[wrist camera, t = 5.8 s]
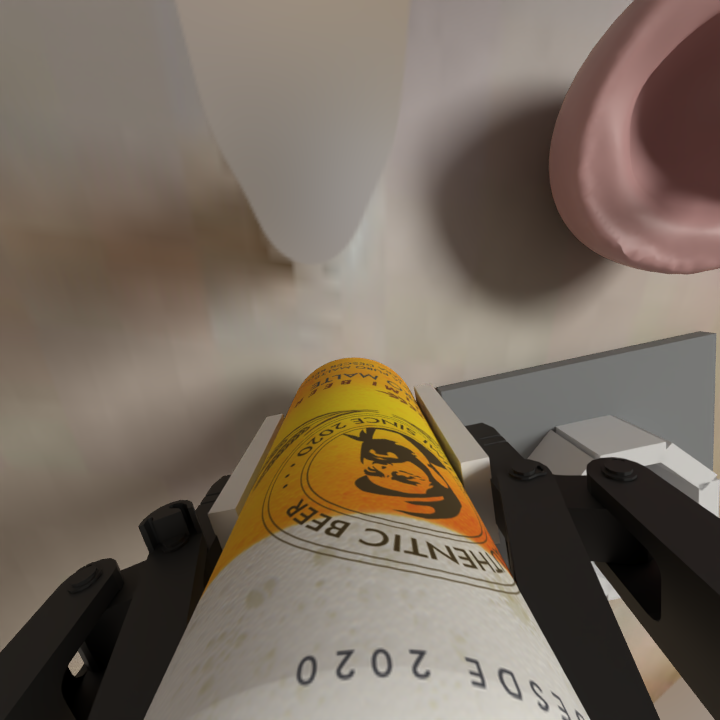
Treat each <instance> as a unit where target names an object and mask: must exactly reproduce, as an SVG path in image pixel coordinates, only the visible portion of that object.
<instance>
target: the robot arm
mask: <svg viewBox="0 0 720 720" xmlns="http://www.w3.org/2000/svg"><path fill="white" fill-rule="evenodd" d="M414 390H415V396H416V401H417V404H418V406H419V408H420V410H421V412H422V413H423V415H424V417H425V419H426V421H427V422H428V424H429V426H430V428H431V430H432V431H433V433H434V435H435V437H436V439H437V440H438V442H439V444H440V446H441V448H442V449H443V451H444V453H445V455H446V457H447V459H448V460H449V462H450V464H451V466H452V468H453V469H454V471H455V473H456V475H457V477H458V478H459V480H460V482H461V484H462V486H463V487H464V489H465V491H466V493H467V495H468V496H469V498H470V500H471V502H472V504H473V505H474V507H475V509H476V511H477V513H478V515H479V516H480V518H481V520H482V522H483V524H484V525H485V527H486V529H487V531H488V533H489V534H490V536H491V538H492V540H493V542H494V543H495V544H499V543H500V539H499V531H498V528H499V529H500V531H501V533H502V534H503V536H504V538H505V542H506V550H507V558H508V566H509V571H510V572H511V574H512V576H513V578H514V580H515V581H516V583H517V587H518V589H519V591H520V593H521V595H522V596H523V598H524V600H525V602H526V604H527V606H528V607H529V609H530V611H531V613H532V615H533V616H534V618H535V620H536V622H537V624H538V626H539V627H540V629H541V631H542V633H543V635H544V637H545V638H546V640H547V642H548V644H549V646H550V647H551V649H552V651H553V653H554V655H555V657H556V658H557V660H558V662H559V664H560V666H561V667H562V669H563V671H564V673H565V675H566V677H567V678H568V680H569V682H570V684H571V686H572V687H573V689H574V691H575V693H576V695H577V697H578V698H579V700H580V702H581V704H582V706H583V708H584V709H585V711H586V713H587V715H588V717H589V718H590V720H660V718H659V716H658V714H657V712H656V709H655V707H654V705H653V702H652V700H651V698H650V696H649V693H648V691H647V689H646V686H645V684H644V682H643V680H642V677H641V675H640V673H639V670H638V668H637V666H636V664H635V661H634V659H633V657H632V654H631V652H630V650H629V648H628V645H627V643H626V641H625V639H624V636H623V634H622V632H621V629H620V627H619V625H618V623H617V620H616V618H615V616H614V613H613V611H612V609H611V607H610V604H609V602H608V600H607V597H606V595H605V593H604V591H603V588H602V586H601V584H600V581H599V579H598V577H597V575H596V572H595V570H594V568H593V565H592V563H591V561H594V563H595V565H596V566H597V567H598V569H599V570H600V571H601V573H602V574H603V575H604V576H605V578H606V579H607V580H608V582H609V583H610V584H611V585H612V587H613V588H614V589H615V591H616V592H617V593H618V595H619V596H620V597H621V598H622V600H623V601H624V602H625V604H626V605H627V606H628V608H629V609H630V610H631V611H632V613H633V614H634V615H635V617H636V618H637V619H638V621H639V622H640V623H641V624H642V626H643V627H644V628H645V630H646V631H647V632H648V633H649V635H650V636H651V637H652V639H653V640H654V641H655V643H656V644H657V645H658V646H659V648H660V649H661V650H662V652H663V653H664V654H665V656H666V657H667V658H668V659H669V661H670V662H671V663H672V665H673V666H674V667H675V669H676V670H677V671H678V672H679V674H680V675H681V676H682V678H683V679H684V680H685V681H686V683H687V684H688V685H689V687H690V688H691V689H692V691H693V692H694V693H695V694H696V695H697V697H698V698H699V700H700V701H701V702H702V703H703V705H704V706H705V707H706V709H707V710H708V711H709V713H710V714H711V715H712V716H713V718H714V719H715V720H720V518H719V517H717V516H716V515H714V514H713V513H711V512H710V511H708V510H707V509H706V508H704V507H703V506H701V505H700V504H698V503H697V502H696V501H694V500H693V499H691V498H690V497H688V496H687V495H686V494H684V493H683V492H681V491H680V490H678V489H677V488H676V487H674V486H673V485H671V484H670V483H668V482H667V481H666V480H664V479H663V478H661V477H660V476H658V475H657V474H656V473H654V472H653V471H651V470H650V469H648V468H647V467H645V466H643V465H641V464H639V463H637V462H634V461H631V460H627V459H624V458H617V457H606V458H598V459H595V460H592V461H591V462H589V463H588V464H587V468H586V474H587V475H555V474H552V472H551V471H550V469H549V468H548V467H547V466H546V465H544V464H542V463H540V462H538V461H534V460H530V459H524V458H523V457H522V456H521V455H520V454H519V453H518V452H517V451H516V450H515V449H514V448H513V447H512V446H511V445H510V444H509V443H508V442H506V440H505V439H504V438H503V437H502V436H501V435H500V434H499V433H498V432H497V430H496V429H495V428H494V427H491V426H489V425H487V424H484V423H477V424H472V425H468V426H464V425H463V424H462V422H461V421H460V420H459V419H458V417H457V416H456V415H455V414H454V412H453V411H452V410H451V409H450V407H449V406H448V405H447V404H446V402H445V401H444V400H443V398H442V397H441V396H440V395H439V393H438V392H437V391H436V390H435V388H434V387H433V386H432V385H431V383H429V384H424V385H419V386H414ZM283 421H284V416H283V414H278V415H273V416H268V417H266V419H265V420H264V422H263V424H262V425H261V427H260V429H259V430H258V432H257V434H256V435H255V437H254V439H253V440H252V442H251V443H250V445H249V447H248V448H247V450H246V452H245V453H244V455H243V457H242V458H241V460H240V462H239V463H238V465H237V467H236V468H235V470H234V471H233V473H232V475H227V476H223V477H222V478H221V479H219V480H218V481H217V482H216V483H215V484H214V485H212V487H211V488H210V490H209V491H208V493H207V494H206V497H204V499H203V500H202V502H201V505H199V506H198V508H197V509H196V511H195V509H194V507H193V504H192V502H190V501H188V500H179V501H176V502H172V503H169V504H167V505H165V506H162V507H160V508H159V509H157V510H155V511H154V512H152V513H151V514H150V515H148V516H147V517H146V518H145V519H144V520H143V521H142V522H141V524H140V525H139V526H138V527H139V529H140V532H141V534H142V536H143V539H144V541H145V544H146V546H147V548H148V551H149V555H148V558H147V560H145V561H143V562H141V563H138V564H136V565H133V566H131V567H129V568H126V569H124V570H121V571H120V568H119V566H118V564H117V562H116V560H114V559H112V558H109V559H102V560H99V561H96V562H92V563H90V564H88V565H86V566H84V567H82V568H80V569H79V570H78V571H77V572H76V573H74V574H73V575H71V576H70V577H69V578H67V579H66V580H65V581H64V582H63V583H62V584H61V585H60V586H59V587H58V588H57V589H56V590H55V591H54V593H53V594H52V595H51V596H50V597H49V598H48V599H47V600H46V602H45V603H44V604H43V605H42V606H41V607H40V608H39V609H38V611H37V612H36V613H35V614H34V615H33V616H32V617H31V619H30V620H29V621H28V622H27V623H26V624H25V625H24V626H23V628H22V629H21V630H20V631H19V632H18V633H17V634H16V635H15V637H14V638H13V639H12V640H11V641H10V642H9V643H8V644H7V646H6V647H5V648H4V649H3V650H2V651H1V652H0V720H144V718H145V716H146V713H147V711H148V709H149V707H150V705H151V703H152V701H153V699H154V696H155V694H156V692H157V690H158V688H159V686H160V684H161V681H162V679H163V677H164V675H165V673H166V671H167V669H168V667H169V664H170V662H171V660H172V658H173V656H174V654H175V652H176V649H177V647H178V645H179V643H180V641H181V639H182V637H183V635H184V632H185V630H186V628H187V626H188V624H189V622H190V620H191V617H192V615H193V613H194V611H195V609H196V607H197V605H198V602H199V600H200V598H201V596H202V594H203V592H204V590H205V588H206V585H207V583H208V581H209V579H210V577H211V575H212V573H213V570H214V568H215V566H216V564H217V562H218V560H219V558H220V556H221V553H222V551H223V549H224V547H225V545H226V543H227V541H228V538H229V536H230V534H231V532H232V530H233V528H234V526H235V524H236V521H237V519H238V517H239V515H240V513H241V511H242V509H243V506H244V504H245V502H246V500H247V498H248V496H249V494H250V492H251V489H252V487H253V485H254V483H255V481H256V479H257V477H258V474H259V472H260V470H261V468H262V466H263V464H264V462H265V459H266V457H267V455H268V453H269V451H270V449H271V447H272V445H273V442H274V440H275V438H276V436H277V434H278V432H279V430H280V427H281V425H282V423H283ZM77 651H78V652H79V654H80V656H81V658H82V660H83V661H84V665H83V666H82V668H81V669H80V671H79V672H78V673H77V675H76V676H73V675H72V673H71V671H70V670H69V668H68V665H69V663H70V661H71V660H72V658H73V657H74V655H75V654H76V653H77Z"/></svg>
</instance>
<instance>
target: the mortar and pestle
mask: <svg viewBox="0 0 720 720" xmlns="http://www.w3.org/2000/svg"><path fill="white" fill-rule="evenodd" d="M549 178H550V186H551V191H552V195H553V199H554V202H555V204H556V207H557V210H558V212H559V214H560V216H561V217H562V219H563V221H564V223H565V224H566V225H567V227H568V228H569V230H570V231H571V232H572V233H573V234H574V235H575V236H576V237H577V238H578V239H579V240H580V241H581V242H582V243H583V244H584V245H586V246H587V247H588V248H589V249H591V250H592V251H594V252H596V253H597V254H599V255H601V256H603V257H605V258H607V259H609V260H612V261H614V262H617V263H619V264H623V265H626V266H629V267H633V268H636V269H641V270H645V271H650V272H659V273H666V274H694V273H699V272H703V271H708V270H713V269H718V268H720V0H634V1H633V2H632V3H631V4H630V5H629V6H628V7H627V8H626V9H625V11H624V12H623V13H622V14H621V15H620V16H619V17H618V18H617V19H616V20H615V21H614V22H613V24H612V25H611V26H610V27H609V29H608V30H607V31H606V33H605V34H604V35H603V36H602V38H601V39H600V40H599V41H598V43H597V44H596V45H595V47H594V48H593V49H592V51H591V52H590V54H589V55H588V57H587V59H586V60H585V62H584V63H583V65H582V66H581V68H580V69H579V71H578V73H577V74H576V76H575V78H574V80H573V82H572V84H571V86H570V88H569V90H568V92H567V94H566V96H565V98H564V101H563V104H562V106H561V109H560V112H559V114H558V117H557V120H556V123H555V127H554V131H553V135H552V140H551V146H550V155H549Z"/></svg>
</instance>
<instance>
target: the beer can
mask: <svg viewBox="0 0 720 720" xmlns="http://www.w3.org/2000/svg"><path fill="white" fill-rule="evenodd" d="M144 720H590V718H589V717H588V715H587V713H586V711H585V709H584V708H583V706H582V704H581V702H580V700H579V698H578V697H577V695H576V693H575V691H574V689H573V687H572V686H571V684H570V682H569V680H568V678H567V677H566V675H565V673H564V671H563V669H562V667H561V666H560V664H559V662H558V660H557V658H556V657H555V655H554V653H553V651H552V649H551V647H550V646H549V644H548V642H547V640H546V638H545V637H544V635H543V633H542V631H541V629H540V627H539V626H538V624H537V622H536V620H535V618H534V616H533V615H532V613H531V611H530V609H529V607H528V606H527V604H526V602H525V600H524V598H523V596H522V595H521V593H520V591H519V589H518V587H517V583H516V581H515V580H514V578H513V576H512V574H511V572H510V571H509V569H508V567H507V565H506V563H505V561H504V560H503V558H502V556H501V554H500V552H499V551H498V549H497V547H496V545H495V543H494V542H493V540H492V538H491V536H490V534H489V533H488V531H487V529H486V527H485V525H484V524H483V522H482V520H481V518H480V516H479V515H478V513H477V511H476V509H475V507H474V505H473V504H472V502H471V500H470V498H469V496H468V495H467V493H466V491H465V489H464V487H463V486H462V484H461V482H460V480H459V478H458V477H457V475H456V473H455V471H454V469H453V468H452V466H451V464H450V462H449V460H448V459H447V457H446V455H445V453H444V451H443V449H442V448H441V446H440V444H439V442H438V440H437V439H436V437H435V435H434V433H433V431H432V430H431V428H430V426H429V424H428V422H427V421H426V419H425V417H424V415H423V413H422V412H421V410H420V408H419V406H418V404H417V402H416V401H415V399H414V397H413V395H412V393H411V392H410V390H409V388H408V386H407V385H406V383H405V382H404V381H403V379H402V378H401V377H400V376H399V375H398V374H397V373H395V372H394V371H393V370H392V369H390V368H389V367H387V366H385V365H383V364H381V363H379V362H376V361H374V360H370V359H365V358H343V359H338V360H335V361H332V362H329V363H327V364H325V365H323V366H321V367H319V368H318V369H316V370H315V371H314V372H313V373H311V374H310V375H309V376H308V377H307V378H306V379H305V381H304V382H303V383H302V384H301V386H300V388H299V389H298V391H297V393H296V395H295V398H294V400H293V402H292V404H291V406H290V408H289V410H288V413H287V415H286V417H285V419H284V421H283V423H282V425H281V427H280V430H279V432H278V434H277V436H276V438H275V440H274V442H273V445H272V447H271V449H270V451H269V453H268V455H267V457H266V459H265V462H264V464H263V466H262V468H261V470H260V472H259V474H258V477H257V479H256V481H255V483H254V485H253V487H252V489H251V492H250V494H249V496H248V498H247V500H246V502H245V504H244V506H243V509H242V511H241V513H240V515H239V517H238V519H237V521H236V524H235V526H234V528H233V530H232V532H231V534H230V536H229V538H228V541H227V543H226V545H225V547H224V549H223V551H222V553H221V556H220V558H219V560H218V562H217V564H216V566H215V568H214V570H213V573H212V575H211V577H210V579H209V581H208V583H207V585H206V588H205V590H204V592H203V594H202V596H201V598H200V600H199V602H198V605H197V607H196V609H195V611H194V613H193V615H192V617H191V620H190V622H189V624H188V626H187V628H186V630H185V632H184V635H183V637H182V639H181V641H180V643H179V645H178V647H177V649H176V652H175V654H174V656H173V658H172V660H171V662H170V664H169V667H168V669H167V671H166V673H165V675H164V677H163V679H162V681H161V684H160V686H159V688H158V690H157V692H156V694H155V696H154V699H153V701H152V703H151V705H150V707H149V709H148V711H147V713H146V716H145V718H144Z"/></svg>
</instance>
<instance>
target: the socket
mask: <svg viewBox="0 0 720 720" xmlns="http://www.w3.org/2000/svg"><path fill="white" fill-rule="evenodd" d="M715 363H716V333H709V332H701V331H700V332H695V333H690V334H686V335H681V336H676V337H671V338H667V339H662V340H657V341H653V342H648V343H643V344H639V345H634V346H629V347H624V348H620V349H615V350H610V351H606V352H601V353H596V354H592V355H587V356H582V357H577V358H573V359H568V360H563V361H559V362H554V363H549V364H544V365H540V366H535V367H530V368H526V369H521V370H516V371H512V372H507V373H502V374H497V375H493V376H488V377H483V378H479V379H474V380H469V381H465V382H460V383H455V384H450V385H446V386H441V387H437V391H438V393H439V395H440V396H441V397H442V398H443V400H444V401H445V402H446V404H447V405H448V406H449V407H450V409H451V410H452V411H453V412H454V414H455V415H456V416H457V417H458V419H459V420H460V421H461V422H462V424H463V425H464V426H468V425H472V424H477V423H484V424H487V425H489V426H491V427H494V428H495V429H496V430H497V432H498V433H499V434H500V435H501V436H502V437H503V438H504V439H505V440H506V442H508V443H509V444H510V445H511V446H512V447H513V448H514V449H515V450H516V451H517V452H518V453H519V454H520V455H521V456H522V457H523V458H524V459H530V460H534V461H538V462H540V463H542V464H544V465H546V466H547V467H548V468H549V469H550V471H551V472H552V474H555V475H587V474H586V468H587V464H588V463H589V462H591V461H592V460H595V459H598V458H606V457H617V458H624V459H627V460H631V461H634V462H637V463H639V464H641V465H643V466H645V467H647V468H648V469H650V470H651V471H653V472H654V473H656V474H657V475H658V476H660V477H661V478H663V479H664V480H666V481H667V482H668V483H670V484H671V485H673V486H674V487H676V488H677V489H678V490H680V491H681V492H683V493H684V494H686V495H687V496H688V497H690V498H691V499H693V500H694V501H696V502H697V503H698V504H700V505H701V506H703V507H704V508H706V509H707V510H708V511H710V512H711V513H713V514H714V515H716V516H717V517H719V486H720V480H719V479H717V478H715V477H716V476H717V474H715V473H714V472H713V444H714V404H715ZM498 531H499V539H500V543H499V544H495V545H496V547H497V549H498V551H499V552H500V554H501V556H502V558H503V560H504V561H505V563H506V565H507V567H508V569H509V566H508V558H507V550H506V542H505V538H504V536H503V534H502V533H501V531H500V529H499V528H498ZM591 563H592V565H593V568H594V570H595V572H596V575H597V577H598V579H599V581H600V584H601V586H602V588H603V591H604V593H605V595H606V597H607V600H608V601H609V600H613V599H618V598H621V597H620V596H619V595H618V593H617V592H616V591H615V589H614V588H613V587H612V585H611V584H610V583H609V582H608V580H607V579H606V578H605V576H604V575H603V574H602V573H601V571H600V570H599V569H598V567H597V566H596V565H595V563H594V561H591Z"/></svg>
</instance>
